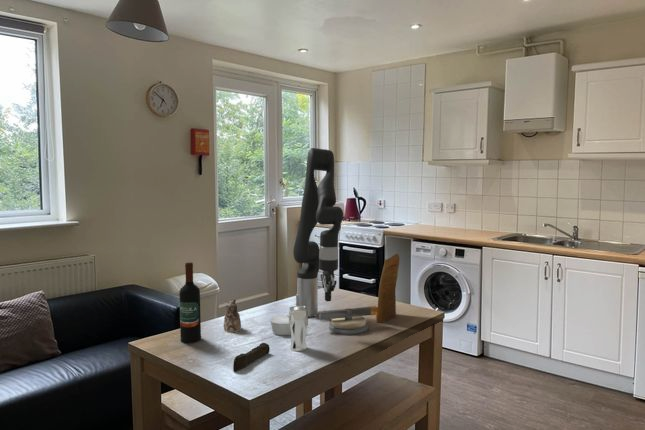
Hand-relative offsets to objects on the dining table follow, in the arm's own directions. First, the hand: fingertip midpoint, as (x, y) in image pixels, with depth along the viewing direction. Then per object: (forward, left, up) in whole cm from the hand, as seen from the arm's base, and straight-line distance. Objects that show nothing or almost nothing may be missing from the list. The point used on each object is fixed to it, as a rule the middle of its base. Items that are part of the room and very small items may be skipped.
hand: (327, 300), depth 190 cm
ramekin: (-18, +1, -14) cm, 23 cm away
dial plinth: (+7, +10, -14) cm, 19 cm away
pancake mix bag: (+22, +27, -14) cm, 38 cm away
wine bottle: (-51, -15, -14) cm, 55 cm away
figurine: (-40, 0, -14) cm, 43 cm away
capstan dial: (+7, +10, -12) cm, 17 cm away
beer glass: (-8, -16, -14) cm, 23 cm away
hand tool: (-21, -31, -15) cm, 40 cm away
